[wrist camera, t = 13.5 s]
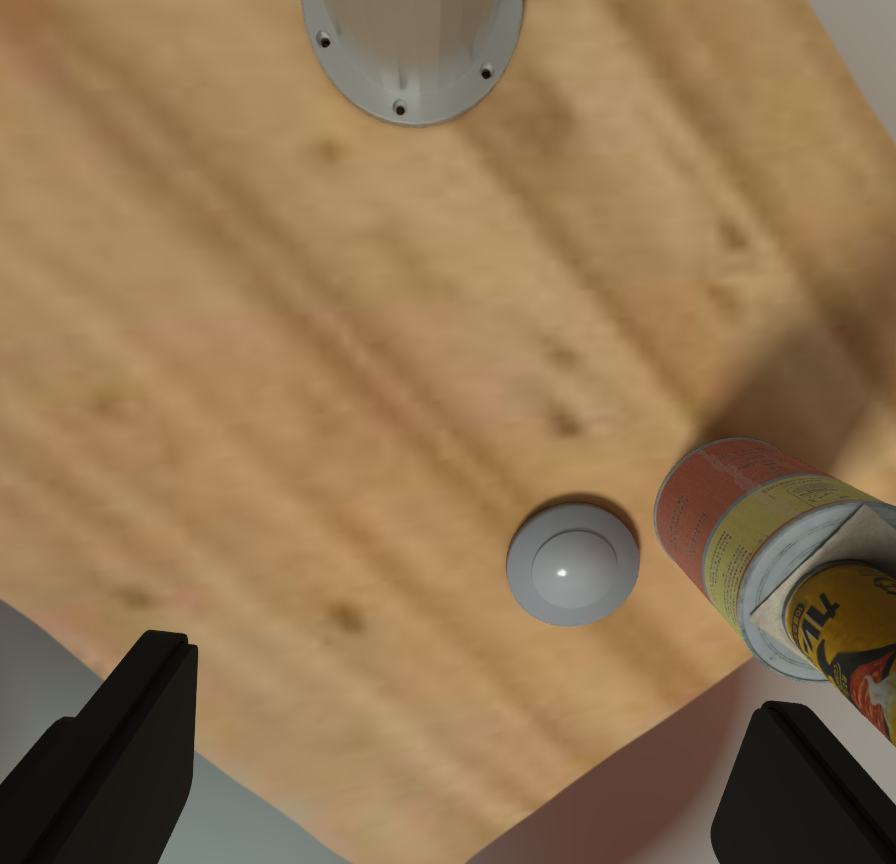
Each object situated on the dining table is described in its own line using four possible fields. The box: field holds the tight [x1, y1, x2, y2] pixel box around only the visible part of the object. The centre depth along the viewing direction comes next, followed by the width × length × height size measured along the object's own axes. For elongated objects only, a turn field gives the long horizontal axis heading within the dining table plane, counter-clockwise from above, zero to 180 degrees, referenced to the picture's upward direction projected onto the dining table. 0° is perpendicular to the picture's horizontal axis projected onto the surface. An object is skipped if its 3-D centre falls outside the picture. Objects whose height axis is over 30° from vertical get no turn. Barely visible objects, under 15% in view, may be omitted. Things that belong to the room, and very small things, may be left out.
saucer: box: [506, 502, 640, 626], centre depth 42 cm, size 10×10×1 cm
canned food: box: [654, 437, 896, 683], centre depth 36 cm, size 11×11×12 cm
